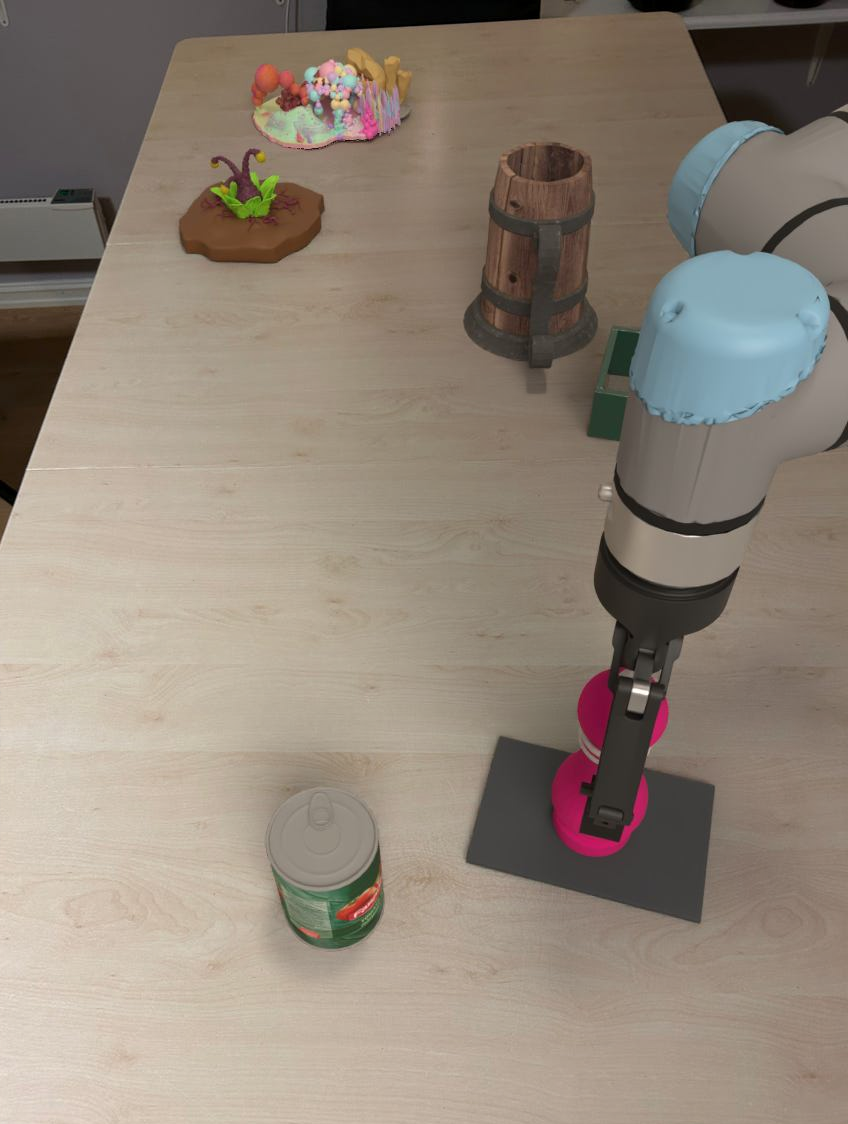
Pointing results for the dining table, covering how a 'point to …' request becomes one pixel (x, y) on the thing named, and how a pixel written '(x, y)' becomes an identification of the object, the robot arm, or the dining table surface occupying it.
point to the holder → (607, 402)
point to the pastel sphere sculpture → (331, 101)
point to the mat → (625, 876)
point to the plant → (251, 216)
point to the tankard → (537, 257)
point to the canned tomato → (327, 867)
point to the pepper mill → (594, 769)
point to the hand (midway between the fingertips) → (614, 750)
